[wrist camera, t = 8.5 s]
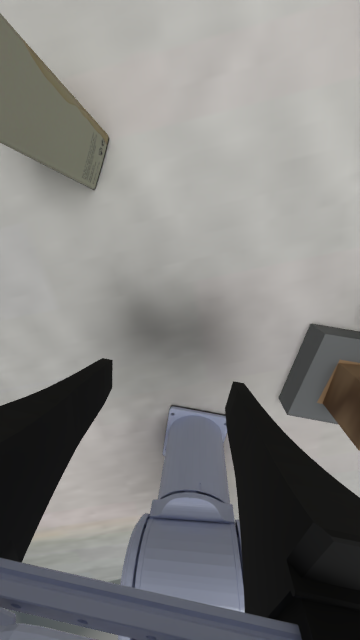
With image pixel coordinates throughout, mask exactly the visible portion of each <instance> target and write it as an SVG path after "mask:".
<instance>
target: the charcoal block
mask: <svg viewBox="0 0 360 640" xmlns="http://www.w3.org/2000/svg"><path fill="white" fill-rule="evenodd" d="M338 363H345V364H357V365H360V332H358V331H352V330H346V329H340V328H334V327H328V326H322V325H316V324H310V327H309V329H308V331H307V334H306V336H305V338H304V340H303V343H302V345H301V347H300V350H299V352H298V354H297V357H296V359H295V361H294V364H293V366H292V368H291V371H290V373H289V375H288V378H287V380H286V382H285V385H284V387H283V389H282V392H281V394H280V396H279V400H280V402H281V404H282V406H283V408H284V410H285V411H286V413H287V415H291V416H296V417H302V418H307V419H313V420H318V421H323V422H329V423H334V424H338V423H337V421H336V420H335V419H334V418H333V416H332V415H331V414H330V412H329V411H328V410H327V408H326V407H325V406H324V405H323V401H324V398H325V396H326V393H327V391H328V388H329V386H330V383H331V381H332V378H333V376H334V373H335V371H336V368H337V366H338Z"/></svg>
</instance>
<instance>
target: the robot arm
mask: <svg viewBox="0 0 360 640" xmlns="http://www.w3.org/2000/svg"><path fill="white" fill-rule="evenodd" d="M111 389H112V360H109V359H104V358H102V359H100V360H98V361H97V362H95V363H93V364H91V365H89V366H88V367H86V368H84V369H82V370H81V371H79V372H77V373H75V374H73V375H72V376H70V377H68V378H66V379H64V380H62V381H60V382H58V383H56V384H54V385H52V386H50V387H48V388H45V389H43V390H41V391H39V392H36V393H34V394H31V395H29V396H27V397H24V398H21V399H18V400H16V401H13V402H10V403H7V404H5V405H2V406H0V640H97V639H92V638H88V637H84V636H80V635H75V634H71V633H67V632H63V631H59V630H54V629H50V628H46V627H42V626H36V625H28V624H22V623H20V624H16V614H14V613H12V612H10V611H7V610H5V609H3V608H6V609H10V610H14V611H18V612H23V613H27V614H31V615H35V616H40V617H44V618H49V619H53V620H56V621H61V622H65V623H69V624H74V625H78V626H82V627H86V628H91V629H95V630H99V631H103V632H107V633H112V634H116V635H118V640H360V498H359V497H358V496H357V495H355V494H354V493H353V492H351V491H350V490H349V489H348V488H346V487H345V486H344V485H342V484H341V483H340V482H339V481H337V480H336V479H335V478H334V477H332V476H331V475H330V474H329V473H328V472H326V471H325V470H324V469H323V468H322V467H321V466H319V465H318V464H317V463H316V462H315V461H314V460H313V459H311V458H310V457H309V456H308V455H307V454H306V453H305V452H304V451H303V450H302V449H300V448H299V447H298V446H297V445H296V444H295V443H294V442H293V441H292V440H291V439H290V438H289V437H288V436H287V435H286V434H285V433H284V432H283V430H282V429H281V428H280V427H279V426H278V425H277V424H276V423H275V422H274V420H273V419H272V418H271V417H270V416H269V415H268V413H267V412H266V411H265V410H264V409H263V407H262V406H261V405H260V404H259V402H258V401H257V400H256V398H255V397H254V396H253V395H252V393H251V392H250V391H249V389H248V388H247V387H246V386H245V384H244V383H239V382H233V384H232V387H231V390H230V394H229V397H228V400H227V404H226V407H225V414H226V416H223V415H218V414H213V413H207V412H202V411H196V410H191V409H186V408H180V407H175V406H172V407H170V410H169V417H168V423H167V429H166V436H165V442H164V448H163V456H165V459H164V465H163V471H162V477H161V483H160V489H159V495H158V500H153V501H152V506H151V511H150V514H147V513H145V514H143V516H142V517H141V518H140V520H139V521H138V523H137V524H136V525H135V527H134V529H133V532H132V534H131V537H130V540H129V544H128V547H127V551H126V556H125V560H124V565H123V571H122V577H121V585H119V584H114V583H110V582H105V581H101V580H96V579H92V578H88V577H83V576H79V575H74V574H70V573H65V572H61V571H56V570H52V569H48V568H43V567H39V566H34V565H30V564H25V563H22V560H23V558H24V556H25V553H26V551H27V549H28V547H29V545H30V542H31V540H32V538H33V536H34V533H35V531H36V529H37V527H38V525H39V522H40V520H41V518H42V516H43V514H44V512H45V510H46V508H47V505H48V503H49V501H50V499H51V497H52V495H53V493H54V491H55V489H56V487H57V485H58V483H59V481H60V479H61V477H62V475H63V473H64V471H65V469H66V467H67V465H68V463H69V461H70V459H71V457H72V455H73V454H74V452H75V450H76V448H77V446H78V445H79V443H80V441H81V439H82V438H83V436H84V435H85V433H86V432H87V430H88V429H89V427H90V425H91V424H92V422H93V421H94V419H95V418H96V416H97V415H98V413H99V411H100V410H101V408H102V407H103V405H104V403H105V401H106V399H107V397H108V395H109V393H110V391H111ZM227 433H228V438H229V444H230V449H231V454H232V460H233V465H234V471H235V478H236V487H237V497H238V508H239V520H235V521H234V513H233V505H232V504H230V498H229V490H228V481H227V473H226V464H225V456H224V447H223V443H224V440H225V437H226V434H227Z"/></svg>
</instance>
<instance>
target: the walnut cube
mask: <svg viewBox="0 0 360 640" xmlns="http://www.w3.org/2000/svg"><path fill="white" fill-rule="evenodd" d="M323 405H324V406H325V407H326V408H327V410H328V411H329V412H330V414H331V415H332V416H333V418H334V419H335V420H336V421H337V423H338V424H339V425H340V427H341V428H342V429H343V431H344V432H345V433H346V434H347V436H348V437H349V438H350V440H351V441H352V442H353V444H354V445H355V446H356V447H357V449H358V450H360V365H357V364H345V363H338V366H337V368H336V371H335V373H334V376H333V378H332V381H331V383H330V386H329V388H328V391H327V393H326V396H325V398H324V401H323Z"/></svg>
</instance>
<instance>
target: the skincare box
mask: <svg viewBox="0 0 360 640" xmlns="http://www.w3.org/2000/svg"><path fill="white" fill-rule="evenodd" d="M108 138H109V137H108V135H107V134H106V132H105V131H104V130H103V129H102V128H101V127H100V126H99V125H98V123H97V122H96V121H95V120H94V119H93V118H92V117H91V116H90V114H89V113H88V112H87V111H86V110H85V109H84V108H83V106H82V105H81V104H80V103H79V102H78V101H77V100H76V99H75V98H74V96H73V95H72V94H71V93H70V92H69V91H68V90H67V89H66V87H65V86H64V85H63V84H62V83H61V82H60V81H59V79H58V78H57V77H56V76H55V75H54V74H53V73H52V72H51V70H50V69H49V68H48V67H47V66H46V65H45V64H44V62H43V61H42V60H41V59H40V58H39V57H38V56H37V55H36V53H35V52H34V51H33V50H32V49H31V48H30V47H29V46H28V45H27V43H26V42H25V41H24V40H23V39H22V38H21V36H20V35H19V34H18V33H17V32H16V31H15V30H14V28H13V27H12V26H11V25H10V24H9V23H8V22H7V20H6V19H5V18H4V17H3V16H2V15H1V14H0V143H2V144H4V145H6V146H8V147H10V148H12V149H14V150H16V151H18V152H20V153H22V154H24V155H26V156H28V157H30V158H32V159H34V160H36V161H38V162H40V163H42V164H44V165H46V166H48V167H49V168H51V169H53V170H55V171H57V172H59V173H61V174H63V175H65V176H67V177H69V178H71V179H73V180H75V181H77V182H79V183H81V184H83V185H85V186H87V187H89V188H91V189H95V186H96V182H97V179H98V176H99V173H100V169H101V165H102V162H103V158H104V154H105V151H106V146H107V142H108Z"/></svg>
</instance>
